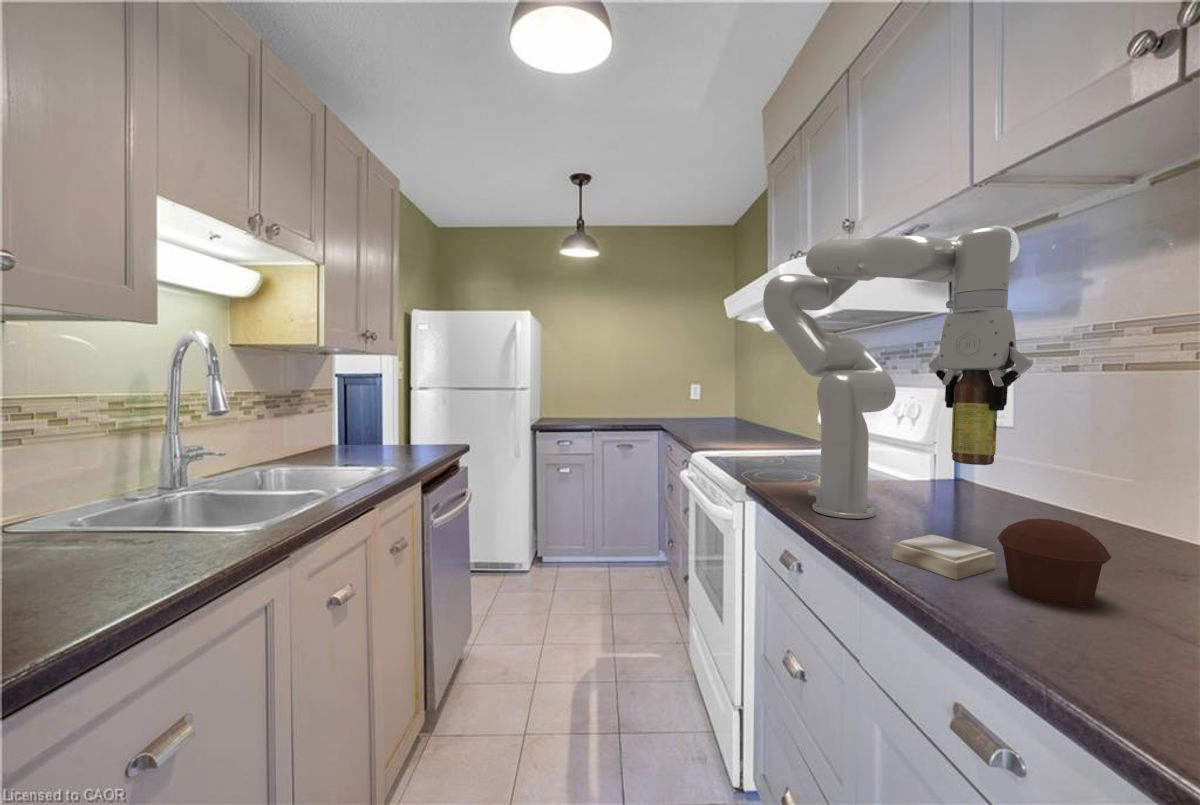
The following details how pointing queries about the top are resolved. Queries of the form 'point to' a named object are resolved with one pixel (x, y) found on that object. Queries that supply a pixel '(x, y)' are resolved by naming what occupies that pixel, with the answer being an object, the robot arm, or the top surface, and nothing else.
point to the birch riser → (944, 556)
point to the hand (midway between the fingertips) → (974, 407)
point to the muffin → (1053, 561)
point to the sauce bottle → (973, 419)
